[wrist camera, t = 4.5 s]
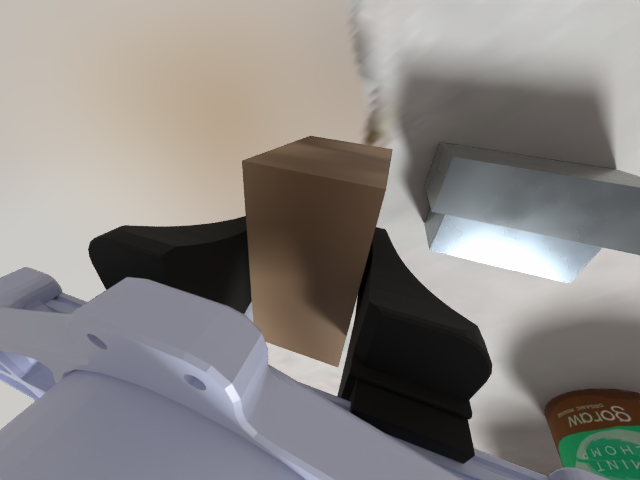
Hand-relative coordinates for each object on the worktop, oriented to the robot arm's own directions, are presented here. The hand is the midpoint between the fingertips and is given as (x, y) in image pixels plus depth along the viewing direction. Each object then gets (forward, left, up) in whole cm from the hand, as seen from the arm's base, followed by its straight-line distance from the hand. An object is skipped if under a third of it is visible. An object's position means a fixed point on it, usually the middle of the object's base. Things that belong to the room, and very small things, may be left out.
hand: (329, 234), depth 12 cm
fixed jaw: (+10, +1, -8) cm, 13 cm away
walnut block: (0, 0, -2) cm, 2 cm away
